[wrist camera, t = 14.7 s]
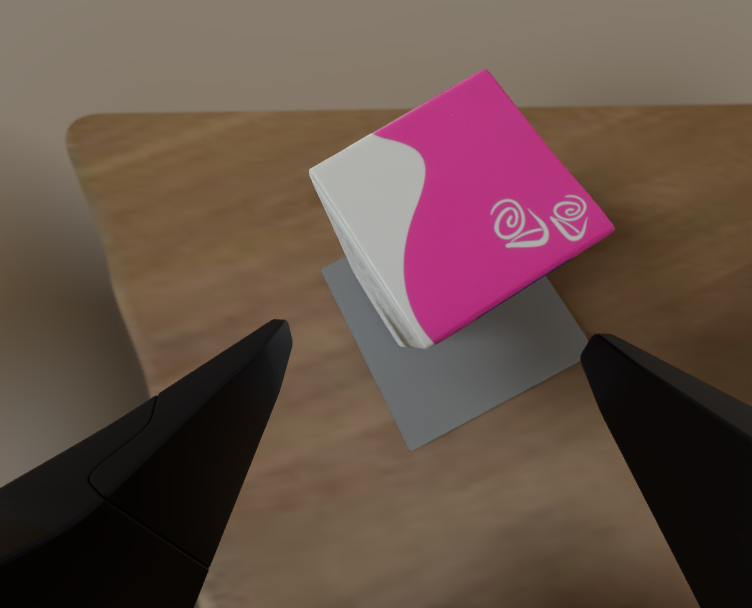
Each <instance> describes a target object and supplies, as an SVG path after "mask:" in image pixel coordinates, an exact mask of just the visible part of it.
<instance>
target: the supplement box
mask: <svg viewBox="0 0 752 608" xmlns="http://www.w3.org/2000/svg"><path fill="white" fill-rule="evenodd" d="M309 175H310V178H311V180H312V182H313V185H314V187H315V189H316V191H317V193H318V196H319V198H320V200H321V202H322V204H323V206H324V208H325V211H326V213H327V215H328V217H329V219H330V221H331V224H332V226H333V228H334V230H335V232H336V235H337V237H338V239H339V241H340V243H341V246H342V248H343V250H344V252H345V255H346V257H347V259H348V261H349V264H350V266H351V268H352V270H353V272H354V274H355V276H356V278H357V280H358V281H359V283H360V285H361V286H362V288H363V289H364V291H365V293H366V294H367V296H368V298H369V299H370V301H371V303H372V304H373V306H374V308H375V309H376V311H377V312H378V314H379V316H380V317H381V319H382V320H383V322H384V324H385V325H386V327H387V329H388V330H389V332H390V333H391V335H392V336H393V338H394V340H395V341H396V343H397V344H398V346H401V347H410V348H420V349H429V348H431V347H433V346H435V345H436V344H438V343H440V342H441V341H443V340H445V339H447V338H448V337H450V336H451V335H453V334H455V333H456V332H458V331H459V330H461V329H462V328H464V327H466V326H467V325H469V324H471V323H472V322H474V321H475V320H477V319H478V318H480V317H481V316H483V315H484V314H486V313H487V312H489V311H491V310H492V309H494V308H495V307H497V306H499V305H500V304H502V303H503V302H505V301H507V300H508V299H510V298H511V297H513V296H515V295H516V294H518V293H519V292H521V291H522V290H524V289H525V288H527V287H529V286H530V285H532V284H533V283H535V282H536V281H538V280H540V279H541V278H543V277H544V276H546V275H547V274H549V273H551V272H552V271H554V270H555V269H557V268H558V267H560V266H562V265H563V264H565V263H566V262H568V261H569V260H571V259H572V258H574V257H576V256H577V255H579V254H580V253H582V252H583V251H585V250H586V249H588V248H590V247H591V246H593V245H594V244H596V243H598V242H599V241H601V240H602V239H604V238H605V237H607V236H609V235H610V234H611V233H612V232H614V230H615V228H614V226H613V224H612V223H611V221H610V220H609V219H608V217H607V216H606V215H605V213H604V212H603V211H602V210H601V208H600V207H599V206H598V205H597V203H596V202H595V201H594V200H593V199H592V198H591V196H590V195H589V194H588V193H587V191H586V190H585V189H584V188H583V187H582V186H581V185H580V183H579V182H578V181H577V180H576V179H575V178H574V177H573V175H572V174H571V173H570V172H569V171H568V170H567V169H566V168H565V166H564V165H563V164H562V163H561V162H560V160H559V159H558V158H557V157H556V156H555V154H554V153H553V152H552V151H551V149H550V148H549V147H548V146H547V145H546V143H545V142H544V141H543V140H542V138H541V137H540V136H539V134H538V133H537V132H536V131H535V129H534V128H533V127H532V126H531V124H530V123H529V122H528V121H527V119H526V118H525V117H524V116H523V114H522V113H521V112H520V110H519V109H518V108H517V107H516V105H515V104H514V103H513V102H512V100H511V99H510V98H509V96H508V95H507V94H506V93H505V91H504V90H503V89H502V88H501V86H500V85H499V84H498V82H497V81H496V80H495V78H494V77H493V76H492V75H491V73H490V72H489V71H488V70H487V69H483V70H481V71H479V72H477V73H476V74H474V75H472V76H470V77H468V78H467V79H465V80H463V81H462V82H460V83H458V84H456V85H454V86H453V87H451V88H450V89H447V90H446V91H444V92H442V93H440V94H439V95H437V96H435V97H434V98H432V99H430V100H428V101H427V102H425V103H423V104H421V105H420V106H418V107H416V108H414V109H412V110H411V111H409V112H407V113H406V114H404V115H402V116H401V117H399V118H397V119H396V120H394V121H392V122H391V123H389V124H387V125H385V126H384V127H382V128H380V129H379V130H377V131H375V132H373V133H371V134H369V135H368V136H366V137H364V138H362V139H361V140H359V141H357V142H356V143H354V144H352V145H350V146H349V147H347V148H346V149H344V150H342V151H341V152H339V153H337V154H335V155H334V156H332V157H330V158H328V159H327V160H325V161H323V162H321V163H320V164H318V165H316V166H314V167H312V168H310V171H309Z"/></svg>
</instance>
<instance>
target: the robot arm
mask: <svg viewBox="0 0 752 608" xmlns="http://www.w3.org/2000/svg"><path fill="white" fill-rule="evenodd" d="M291 349H292V336H291V332H290V328H289V324H288V322H287V321H286V320H280V319H273V320H271V321H270V322H268V323H266V324H265V325H263V326H262V327H260V328H259V329H257V330H256V331H254V332H253V333H251V334H250V335H248V336H246V337H245V338H243V339H242V340H240V341H239V342H237V343H236V344H234V345H233V346H231V347H229V348H228V349H226V350H225V351H223V352H222V353H220V354H219V355H217V356H216V357H214V358H213V359H211V360H209V361H208V362H206V363H205V364H203V365H202V366H200V367H199V368H197V369H196V370H194V371H192V372H191V373H189V374H188V375H186V376H185V377H183V378H182V379H180V380H179V381H177V382H175V383H174V384H172V385H171V386H169V387H168V388H166V389H165V390H163V391H162V392H160V393H159V394H158V396H154V397H152V398H151V399H149V400H148V401H146V402H145V403H143V404H141V405H140V406H138V407H137V408H135V409H134V410H132V411H130V412H129V413H127V414H126V415H124V416H122V417H121V418H119V419H118V420H116V421H114V422H113V423H111V424H110V425H108V426H106V427H104V428H103V429H101V430H99V431H98V432H96V433H94V434H93V435H92V436H89V437H88V438H86V439H84V440H82V441H81V442H79V443H77V444H76V445H74V446H72V447H70V448H69V449H67V450H65V451H63V452H62V453H60V454H58V455H56V456H55V457H53V458H51V459H50V460H48V461H46V462H44V463H43V464H41V465H39V466H37V467H36V468H34V469H32V470H30V471H29V472H27V473H25V474H24V475H22V476H20V477H18V478H17V479H15V480H13V481H11V482H10V483H8V484H6V485H5V486H3V487H1V488H0V608H194V606H195V603H196V601H197V598H198V596H199V593H200V591H201V588H202V586H203V583H204V581H205V578H206V576H207V573H208V571H209V567H210V565H211V563H212V560H213V558H214V555H215V553H216V550H217V548H218V545H219V543H220V540H221V538H222V535H223V533H224V530H225V528H226V525H227V523H228V520H229V518H230V515H231V513H232V510H233V508H234V505H235V503H236V500H237V498H238V495H239V493H240V490H241V488H242V485H243V483H244V480H245V478H246V475H247V472H248V470H249V467H250V465H251V462H252V460H253V457H254V455H255V452H256V450H257V447H258V445H259V442H260V440H261V437H262V435H263V432H264V430H265V427H266V425H267V422H268V420H269V417H270V415H271V412H272V410H273V407H274V405H275V402H276V400H277V397H278V394H279V392H280V389H281V385H282V382H283V378H284V375H285V371H286V367H287V363H288V360H289V356H290V352H291ZM580 360H581V364H582V366H583V369H584V371H585V374H586V377H587V379H588V382H589V384H590V387H591V390H592V392H593V395H594V397H595V400H596V402H597V405H598V407H599V410H600V412H601V414H602V416H603V418H604V420H605V422H606V424H607V426H608V428H609V430H610V432H611V434H612V436H613V438H614V440H615V442H616V444H617V445H618V447H619V449H620V451H621V453H622V455H623V457H624V459H625V461H626V463H627V465H628V467H629V469H630V471H631V473H632V475H633V477H634V479H635V481H636V483H637V485H638V487H639V489H640V490H641V492H642V494H643V496H644V498H645V500H646V502H647V504H648V506H649V508H650V510H651V512H652V514H653V516H654V518H655V520H656V522H657V524H658V526H659V528H660V530H661V532H662V533H663V535H664V537H665V539H666V541H667V543H668V545H669V547H670V549H671V551H672V553H673V555H674V557H675V559H676V561H677V563H678V565H679V567H680V569H681V571H682V573H683V575H684V577H685V578H686V580H687V582H688V584H689V586H690V588H691V590H692V592H693V594H694V596H695V598H696V600H697V602H698V604H699V606H700V608H752V407H751V406H749V405H747V404H745V403H743V402H741V401H739V400H737V399H735V398H734V397H732V396H730V395H728V394H726V393H724V392H722V391H720V390H718V389H716V388H714V387H712V386H710V385H709V384H707V383H705V382H703V381H701V380H699V379H697V378H695V377H693V376H691V375H689V374H687V373H685V372H684V371H682V370H680V369H678V368H676V367H674V366H672V365H670V364H668V363H666V362H664V361H662V360H660V359H659V358H657V357H655V356H653V355H651V354H649V353H647V352H645V351H643V350H641V349H639V348H637V347H635V346H634V345H632V344H630V343H628V342H626V341H624V340H622V339H620V338H618V337H616V336H614V335H611V334H594V335H593V336H592V337H591V338H590V340H589V341H588V343H587V345H586V346H585V348H584V349H583V351H582V353H581V356H580Z"/></svg>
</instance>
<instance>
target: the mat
mask: <svg viewBox="0 0 752 608" xmlns="http://www.w3.org/2000/svg"><path fill="white" fill-rule="evenodd" d="M320 270H321V272H322V274H323V276H324V278H325V280H326V282H327V284H328V286H329V288H330V290H331V292H332V294H333V296H334V298H335V300H336V302H337V304H338V306H339V308H340V310H341V312H342V314H343V316H344V318H345V320H346V322H347V324H348V326H349V328H350V330H351V332H352V334H353V336H354V338H355V340H356V342H357V344H358V346H359V348H360V350H361V352H362V355H363V357H364V359H365V361H366V363H367V365H368V367H369V369H370V371H371V373H372V375H373V377H374V379H375V381H376V383H377V385H378V387H379V389H380V391H381V393H382V395H383V397H384V399H385V401H386V403H387V405H388V407H389V409H390V411H391V413H392V415H393V417H394V419H395V421H396V423H397V425H398V427H399V429H400V431H401V433H402V435H403V437H404V439H405V441H406V443H407V445H408V447H409V450H410V452H411V451H413V450H415V449H417V448H419V447H420V446H422V445H424V444H426V443H428V442H430V441H432V440H434V439H435V438H437V437H439V436H441V435H443V434H445V433H447V432H449V431H450V430H452V429H454V428H456V427H458V426H460V425H462V424H464V423H465V422H467V421H469V420H471V419H473V418H475V417H477V416H479V415H480V414H482V413H484V412H486V411H488V410H490V409H492V408H494V407H495V406H497V405H499V404H501V403H503V402H505V401H507V400H509V399H510V398H512V397H514V396H516V395H518V394H520V393H522V392H524V391H525V390H527V389H529V388H531V387H533V386H535V385H537V384H539V383H540V382H542V381H544V380H546V379H548V378H550V377H552V376H554V375H555V374H557V373H559V372H561V371H563V370H565V369H567V368H569V367H570V366H572V365H574V364H576V363H578V362H580V361H581V360H580V356H581V353H582V351H583V349H584V348H585V346H586V345H587V343H588V341H589V340H588V339H587V337H586V336H585V334H584V333H583V331H582V330H581V328H580V327H579V325H578V324H577V322H576V321H575V319H574V318H573V316H572V315H571V313H570V312H569V310H568V308H567V307H566V305H565V304H564V302H563V301H562V299H561V298H560V296H559V295H558V293H557V292H556V290H555V289H554V287H553V286H552V284H551V283H550V281H549V280H548V278H547V277H546V276H544V277H543V278H541V279H540V280H538V281H536V282H535V283H533V284H532V285H530V286H529V287H527V288H525V289H524V290H522V291H521V292H519V293H518V294H516V295H515V296H513V297H511V298H510V299H508V300H507V301H505V302H503V303H502V304H500V305H499V306H497V307H495V308H494V309H492V310H491V311H489V312H487V313H486V314H484V315H483V316H481V317H480V318H478V319H477V320H475V321H474V322H472V323H471V324H469V325H467V326H466V327H464V328H462V329H461V330H459V331H458V332H456V333H455V334H453V335H451V336H450V337H448V338H447V339H445V340H443V341H441V342H440V343H438V344H436V345H435V346H433V347H431V348H429V349H420V348H410V347H401V346H398V344H397V343H396V341H395V340H394V338H393V336H392V335H391V333H390V332H389V330H388V329H387V327H386V325H385V324H384V322H383V320H382V319H381V317H380V316H379V314H378V312H377V311H376V309H375V308H374V306H373V304H372V303H371V301H370V299H369V298H368V296H367V294H366V293H365V291H364V289H363V288H362V286H361V285H360V283H359V281H358V280H357V278H356V276H355V274H354V272H353V270H352V268H351V266H350V264H349V261H348V259H347V257H344V258H342V259H340V260H338V261H336V262H334V263H332V264H330V265H328V266H326V267H324V268H322V269H320Z"/></svg>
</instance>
